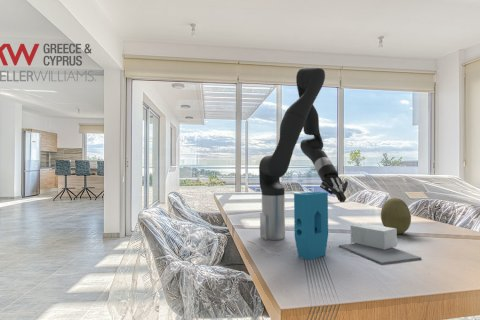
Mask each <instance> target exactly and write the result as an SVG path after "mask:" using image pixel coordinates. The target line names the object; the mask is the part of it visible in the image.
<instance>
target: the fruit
mask: <svg viewBox="0 0 480 320" xmlns="http://www.w3.org/2000/svg"><path fill="white" fill-rule="evenodd" d="M380 219H381V223H382V226H384V227H390V228H395V229H397V234H398V235H400V234H404V233H405V232H407V231H408V230H409V228H410V226H411V222H412V215H411V211H410V208H409V206H408V204H407V203H406V202H405V200H403V199H401V198H398V197H394V198H393V197H392V198H389V199H387V200H386V201H385V202H384V204H383V205H382V207H381V210H380Z"/></svg>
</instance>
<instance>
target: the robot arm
mask: <svg viewBox="0 0 480 320" xmlns="http://www.w3.org/2000/svg"><path fill="white" fill-rule="evenodd" d="M325 80H326V72H325V70H324V69H323V67H318V66H317V67H315V66H314V67H300V68H299V69H298V71H297V72H296V80H295V81H296V82H295V83H296V88H297V92H298V97H299V98H298V99H296V100H295V101H294V102H293V103H292V104H291V105H290V106H289V107H288V108H287V109H286V111H285V113H284V114H283V117H282V120H281V122H280V126H279V138H278V139H279V140H278V143H277V146H276V147H275V150H274V151H273V154H271V155H265V156H263V157H262V158H261V159H260V162H259V166H258V175H259V179H258V180H259V188H260V190H261V212H260V213H259V222H260V223H259V226H260V227H259V229H260V234H259V235H260V237H261V238H263V239H264V240H270V241H271V240H272V241H273V240H274V241H277V240H278V241H279V240H283V239H285V238H286V222H285V221H286V219H285V215H286V212H285V211H286V208H285V207H286V206H285V204H286V203H285V201H286V200H285V199H286V197H285V188H284V186H283V185H282V183H281V182H280V178H282V177H284V176H285V175H286V173H287V171H288V169H289V166H290V163H291V160H292V157H293V154H294V150H295V147H296V146H297V142H298V141H299V138H300V135H301V133H302V131H303V133H304V134H305V135H307V136H313V137H310V138H304V139H302V140H301V142H300V144H299V145H300V150H301V152H302V153H303V154H304V155H305V156H306V157H307V158H308V159H309V160H310V161H311V162H312V164H313V166H314V168H315V171H316V172H317V175H318V177H319V178H320V180H321V184H319V188H321V189H323V190H324V191H325V192H327V193H328V194H330V195H334V196H336V198H337V200H338V201H339V202H340V203H345V201H346V200H347V196H345V192H346V191H347V189H348V188H347V187H348V185H349V182H348V181H344V180H342V178H340V177H339V172H338V170H337V169H336V167H335V166H334V164H333V162H332V160H330V158H329V157H328V155H327V154H326V152H325V151H324V150H323V149H324V140H323V139H322V138H323V137H322V136H321V133H320V126H319V125H320V121H319V119H320V118H319V113H318V111H317V108H316V107H315V106H314V102H316V99H317V97H318V95H319V93H320V92H321V90H322V88H323V86H324V83H325Z"/></svg>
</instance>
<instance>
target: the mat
mask: <svg viewBox="0 0 480 320" xmlns="http://www.w3.org/2000/svg"><path fill="white" fill-rule="evenodd" d="M338 247H339V248H342V249H344V250H345V251H349V252H351V253H353V254H356V255H358V256H361V257H362V258H364V259H367V260H370V261H372V262H375V263H376V264H379V265H387V264H389V265H390V264H395V263H404V262H405V263H406V262H413V261H421V260H422V257H421V256H418V255H415V254H413V253H409V252H406V251H403V250H400V249H397V248H395V247H393V248H389V249H386V250H383V249H379V248H375V247H370V246H366V245H362V244H357V243H345V244H339V245H338Z"/></svg>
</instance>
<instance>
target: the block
mask: <svg viewBox="0 0 480 320" xmlns="http://www.w3.org/2000/svg"><path fill="white" fill-rule="evenodd" d="M328 196H329V193H328V192H327V191H325V192H324V191H310V192H309V191H308V192H300V193H293V201H294V202H293V203H294V204H293V206H294V207H293V211H294V213H293V214H294V217H293V219H294V220H293V221H294V229H293V230H294V240H295V241H294V242H295V245H296V251H297V255H298V258H302V259H304V260H308V261H309V260H310V261H311V260H315V259H319V258H321V257H325V256H326V251H327V246H328V245H327V244H328V240H329V239H328V237H329V197H328Z"/></svg>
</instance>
